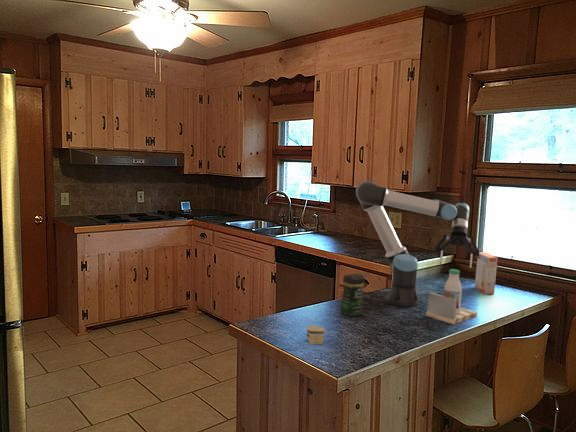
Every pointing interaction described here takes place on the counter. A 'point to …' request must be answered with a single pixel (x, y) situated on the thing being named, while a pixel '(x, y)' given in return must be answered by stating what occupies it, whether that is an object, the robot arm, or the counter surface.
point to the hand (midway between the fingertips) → (455, 264)
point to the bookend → (442, 305)
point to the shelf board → (460, 317)
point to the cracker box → (486, 273)
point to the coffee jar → (352, 295)
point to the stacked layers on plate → (315, 334)
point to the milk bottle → (454, 288)
